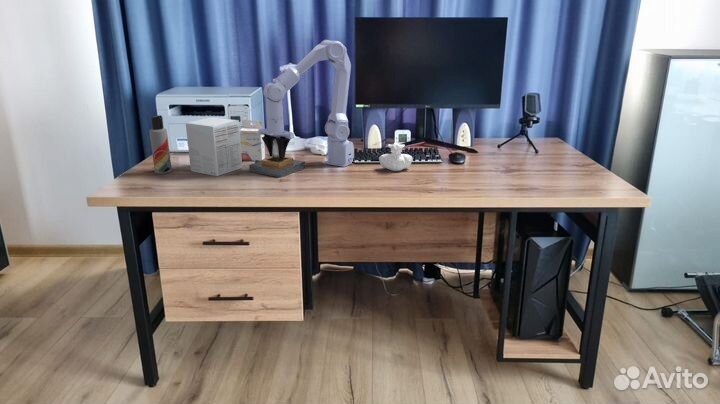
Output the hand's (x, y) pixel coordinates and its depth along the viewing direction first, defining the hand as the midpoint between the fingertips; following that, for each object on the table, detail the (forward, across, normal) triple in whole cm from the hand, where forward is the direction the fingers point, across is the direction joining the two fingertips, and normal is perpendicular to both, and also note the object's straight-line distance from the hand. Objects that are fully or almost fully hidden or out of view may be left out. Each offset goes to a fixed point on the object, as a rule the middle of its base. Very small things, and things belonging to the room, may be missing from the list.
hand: (277, 156), depth 190 cm
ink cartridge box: (+5, -18, +7) cm, 20 cm away
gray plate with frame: (+5, -2, 0) cm, 5 cm away
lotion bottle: (+5, -33, -23) cm, 41 cm away
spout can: (+2, 0, 0) cm, 2 cm away
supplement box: (+5, -19, -11) cm, 23 cm away
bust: (+5, +36, +22) cm, 43 cm away
